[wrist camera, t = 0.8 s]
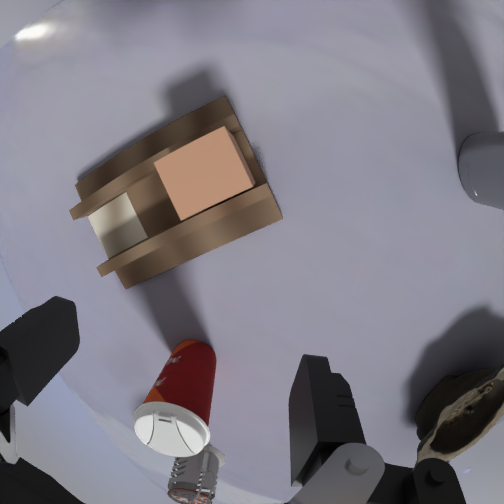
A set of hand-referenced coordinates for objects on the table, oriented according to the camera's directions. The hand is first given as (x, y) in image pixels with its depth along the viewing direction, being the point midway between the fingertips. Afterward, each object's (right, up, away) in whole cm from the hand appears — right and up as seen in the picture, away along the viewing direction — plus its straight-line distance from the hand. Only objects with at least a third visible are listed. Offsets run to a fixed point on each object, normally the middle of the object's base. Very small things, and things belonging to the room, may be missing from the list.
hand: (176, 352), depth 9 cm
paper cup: (-5, -10, +27) cm, 30 cm away
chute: (-6, +9, +22) cm, 24 cm away
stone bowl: (+39, -23, +29) cm, 54 cm away
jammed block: (-1, +11, +20) cm, 23 cm away
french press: (-7, -32, +34) cm, 47 cm away
